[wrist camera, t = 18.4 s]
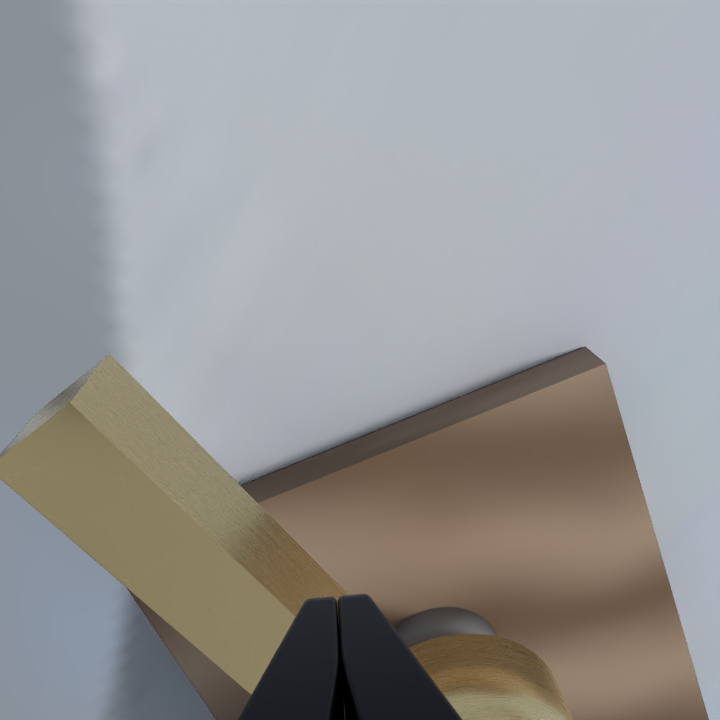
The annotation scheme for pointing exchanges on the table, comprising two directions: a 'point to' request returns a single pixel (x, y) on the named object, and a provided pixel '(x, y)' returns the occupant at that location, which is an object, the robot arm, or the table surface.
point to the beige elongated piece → (217, 545)
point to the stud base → (495, 540)
